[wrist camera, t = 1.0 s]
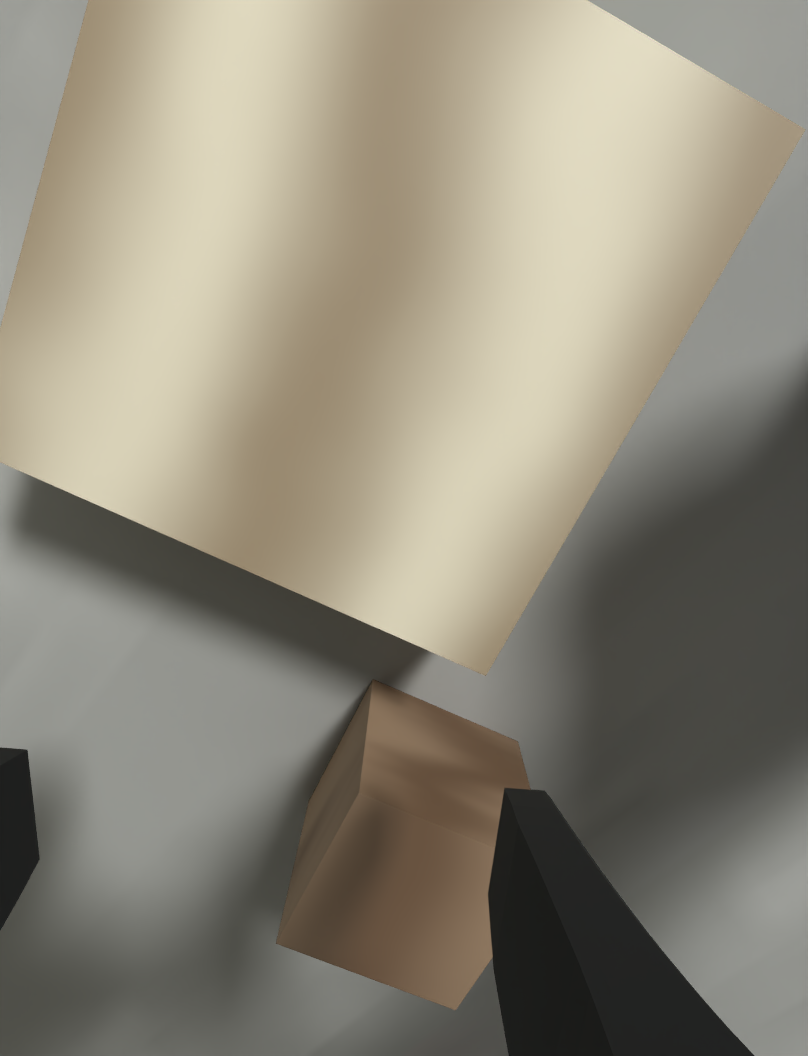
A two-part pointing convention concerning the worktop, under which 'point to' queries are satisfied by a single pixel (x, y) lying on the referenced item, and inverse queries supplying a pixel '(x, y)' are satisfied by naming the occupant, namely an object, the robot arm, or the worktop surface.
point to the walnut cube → (403, 848)
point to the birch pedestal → (369, 284)
